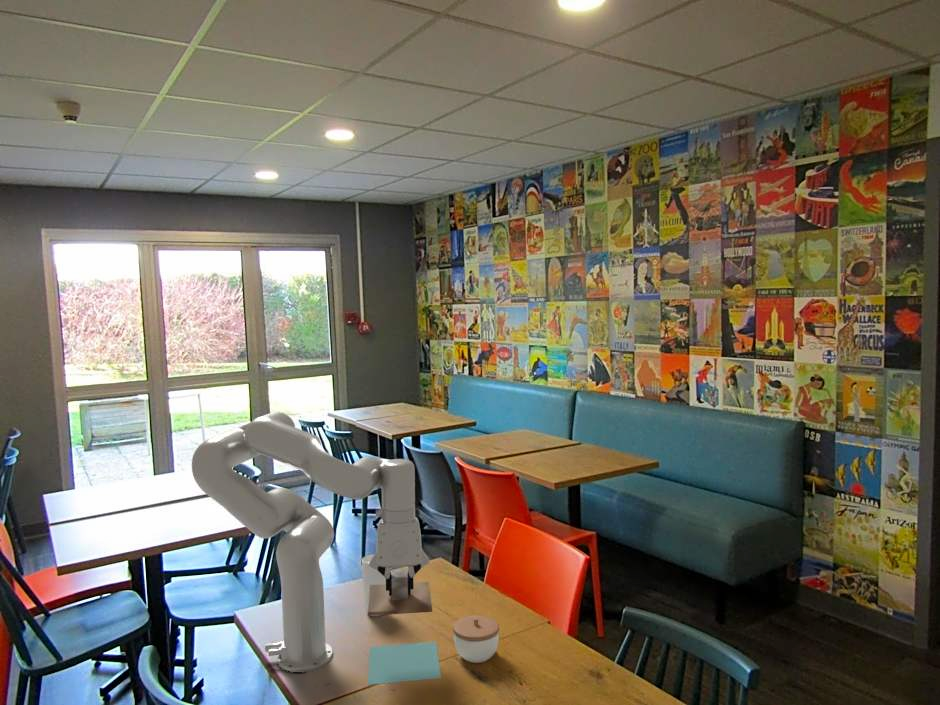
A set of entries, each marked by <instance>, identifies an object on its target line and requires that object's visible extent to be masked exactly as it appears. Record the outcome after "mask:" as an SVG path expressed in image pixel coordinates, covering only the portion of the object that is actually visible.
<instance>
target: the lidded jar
mask: <svg viewBox="0 0 940 705" xmlns="http://www.w3.org/2000/svg"><path fill="white" fill-rule="evenodd" d="M452 628H453V629H452V630H453V640H454V647H455V649H456V651H457V652H458V654H459V656H460V657H461V658H462V659H463V660H465V661H466V662H469V663H471V664H472V663H473V664H479V663H481V664H482V663H484V662H486V661H488V660H490V659H491V658H492V657H493V656H494V655H495V653H496V651H497V649H498V645H499V637H500V632H499V631H500V624H499V622H498V621H497V620H496V619H495V618H494V617H493V618H492V617H490V616H486V615H480V614H476V615H475V614H474V615H472V614H471V615H468V616H463V617H461V618H459V619H457V620H456V621H455V622H454V624H453V626H452Z"/></svg>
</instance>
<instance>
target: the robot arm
mask: <svg viewBox="0 0 940 705" xmlns="http://www.w3.org/2000/svg"><path fill="white" fill-rule="evenodd" d="M260 455H262V456H265V457H267V458H270V459H272V460H275V461H277V462H280V463H282V464H285V465H288V466H290V467H293V468H295V469H297V470H299V471H301V472H302V473H303V474H304V475H305V476H306V477H308V479H309V480H311V481H312V482H313V483H314V484H316V485H317V486H318V487H321V488H322V489H324V490H326V491H327V492H330V493H333V494H336V495H338V496H341V497H344V498H347V499H350V500H362V499H365V498H366V497H368V496H369V495H371V494H372V492H374V491H375V490H377V489H379V488H380V489H381V507H380V509H378V510H377V509H376V510H375V517H379V518H380V520H379V521H378V524H377V525H378V526H377V530H376V531H377V533H376V550H375V553H374V554H373V555H374V556H373V557H372V559H371V561H370V563H369V566H370V567H372V568H374V569H376V570H378V571H379V572H380V573H381V574H382V575H383V576H384V577H385V579H386V591H389V596H391V595H392V571H391V570H392V568H397V567H398V568H400V567H407V569H408V571H407V576H408V595H411V589H414V585H413V583H414V577H415V576H416V574H417V573H418V572H419V571H420V570H421V569H422V568H423V567H425V566H427V565H428V564H429V563H430V558H429V557H428V556H427V554H426V553H425V551H424V549H423V548H422V546H423V545H422V534H421V527H420V522H419V519H418V517H416V482H415V481H416V476H415V475H416V474H415V472H416V471H415V464H414V463H413V461H411V460H410V459H405V458H394V459H388V458H383V457H378V456H364V457H362V458H360V459H358V460H357V461H356V462H354V463H352V464H351V463H349V462H347V461H344V460H341V459H339V458H336V457H335V456H333V455H331V454H329V453H328V452H327V451H326V450H325V449H324V448H323V446H322V442H321V439H320V437H318V436H317V435H315V434H313V433H311V432H308V431H305V430H304V429H303V430H302V429H300V428H297V427H296V425H295V422H294V421H293V419H292V417H290V415H288V414H286V413H284V412H280V411H275V412H274V411H273V412H269V413H267V414H264V415H261V416H258V417H256V418H254V419H253V420H252V421H250V422H248V423H246V424H244V425H242V426H238V427H236V428H234V429H231V430H229V431H226V432H223V433H221V434H217V435H214V436H212V437H210V438H207V439H206V440H204V441H203V442H202V443H200V444H199V445H198V447H197V448H196V449H195V450H194V453H193V456H192V459H191V472H192V477H193V479H194V480H195V483H196V484H197V486H198V487H199V489H201V491H202V492H204V494H205V495H207V496H208V497H209V498H210V499H212V500H213V501H215V502H216V503H218V504H219V505H220V506H222V508H224V509H225V510H226V511H227V512H228V513H229V514H230V515H231V516H233V518H235V519H236V520H237V521H238V522H240V523H241V524H242V525H243V526H244V527H245V528H246V529H248V530H249V531H250V532H251V533H252V534H254V535H255V536H257V537H258V538H261V539H271V538H272V537H275V536H276V535H278V534H279V533H280V532H282V531H284V532H285V534H283V536H282V537H281V539H280V540H279V541H278V544H277V548H276V551H275V552H276V556H275V557H276V563H277V568H278V572H279V577H280V578H279V579H280V587H281V588H280V590H281V604H282V606H281V608H282V629H283V632H282V633H283V640H279V642H268V643H267V642H266V643H265V645H264V652H265V653H268V656H269V657H274V656H277V665H278V664H279V665H278V667H279V666H280V667H281V668H282V670H283V669H284V670H283V671H285V670H287V671H286V672H288V671H290V672H289V673H293V672H302V673H307V672H309V671H313V670H316V669H318V668H321V667H323V666H325V665H326V664H327V663H329V661H331V660H332V658H333V655H334V653H333V652H334V651H333V650H334V649H333V647H332V646H331V645H330V644H329V643H326V621H325V620H326V618H325V616H326V615H325V599H324V597H325V596H324V582H323V581H324V580H323V574H322V571H321V567H320V558H321V557H322V556H323V555H324V553H326V552H327V550H328V549H329V548H330V547H331V545H332V544H333V543H334V542H333V541H334V538H335V532H334V531H335V530H334V528H333V525H332V523H331V522H330V521H329V519H327V517H326V516H325V515H324V514H323V513H321V512H320V511H319V510H317V509H316V508H315V506H313V505H312V504H311V503H309V502H308V501H307V500H306V499H305V498H303V497H302V496H301V495H300V494H299V493H297V492H296V491H294V490H292V489H289V488H286V487H277V488H274V489H271V490H269V491H265V490H264V489H262V488H261V487H259V486H258V485H257V484H256V483H255V482H254V481H253V480H252V479H250V478H249V477H247V476H245V475H243V474H241V473H239V472H236V471H235V470H234V469H233V468H235V467H237V466H239V465H242V464H243V463H245V462H247V461H249V460H252V459H254V458H257V457H259V456H260ZM280 667H279V668H280ZM281 668H280V669H281Z"/></svg>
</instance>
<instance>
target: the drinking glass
mask: <svg viewBox="0 0 940 705" xmlns="http://www.w3.org/2000/svg"><path fill="white" fill-rule="evenodd" d="M373 556H374V554H368V555H366V556H363V557H362V558H361V574H362V575H361V576H362V582H363V583H362V584H363V592H364V600H365V612H366V614H367V615H368V604H369V592H370V585H381V584H386V579H385V577H384V576H383V575H382V574H381V573H380V572H379V571H378V570H376V569H374V568H372V567H370V566H369V563H370V561H371V559H372V557H373ZM380 616H381V615H372V616H371V617H380Z"/></svg>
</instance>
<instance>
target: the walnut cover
mask: <svg viewBox="0 0 940 705" xmlns="http://www.w3.org/2000/svg"><path fill="white" fill-rule="evenodd" d="M407 574H408V571H393V572H392V571H391V575H392V595H391V596H389V591H386V584H381V585H370V592H369V604H368V614H367V616H368V617H373V616H372V615H380V616H383V615H384V616H386V615H389V616H390V615H402V614H403V615H404V614H417V613H419V614H420V613H433V604H432V597H431V590H430V581H422V582H421V581H420V582H418V581H417V582H413V585H414V589H411V595H408V576H407Z"/></svg>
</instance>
